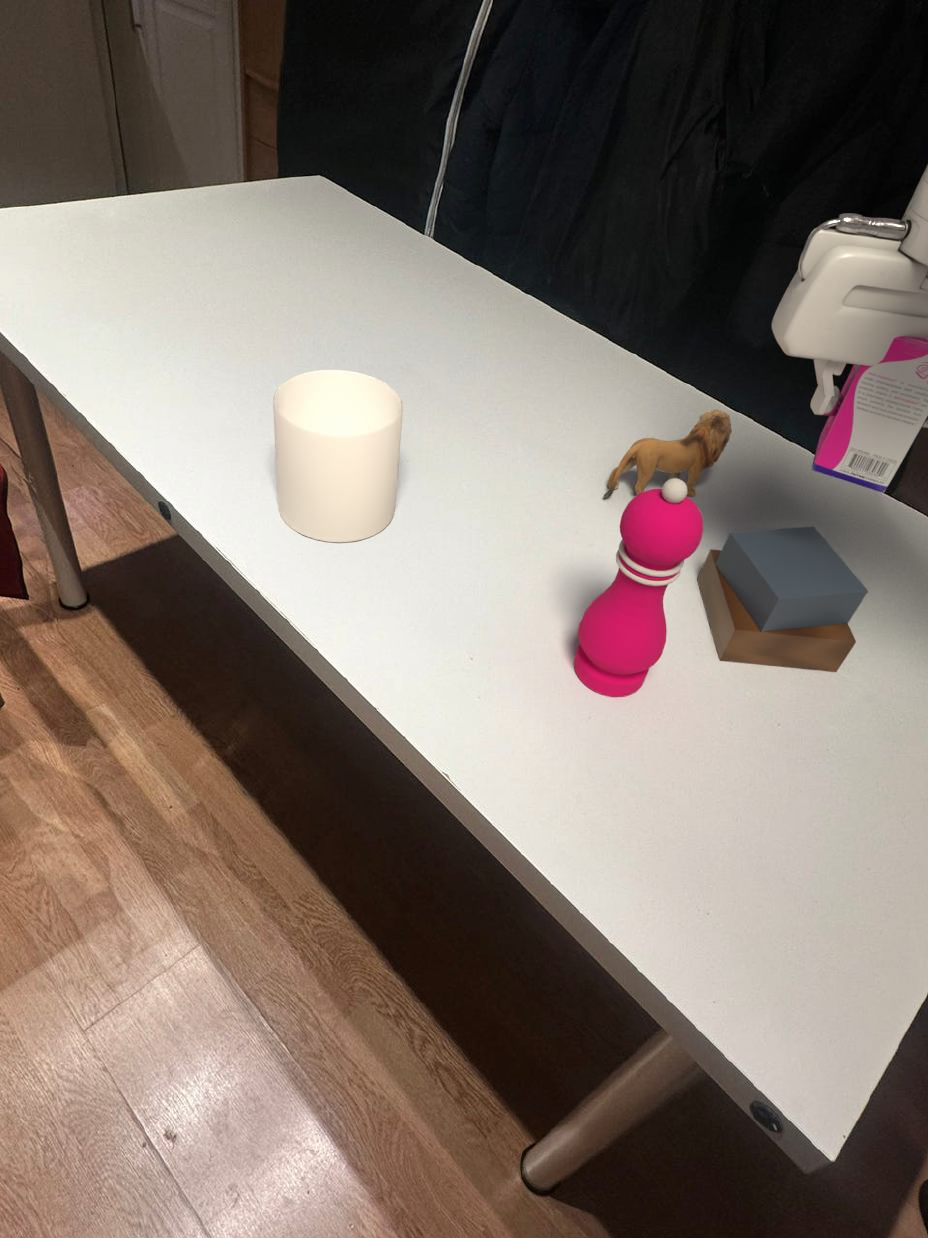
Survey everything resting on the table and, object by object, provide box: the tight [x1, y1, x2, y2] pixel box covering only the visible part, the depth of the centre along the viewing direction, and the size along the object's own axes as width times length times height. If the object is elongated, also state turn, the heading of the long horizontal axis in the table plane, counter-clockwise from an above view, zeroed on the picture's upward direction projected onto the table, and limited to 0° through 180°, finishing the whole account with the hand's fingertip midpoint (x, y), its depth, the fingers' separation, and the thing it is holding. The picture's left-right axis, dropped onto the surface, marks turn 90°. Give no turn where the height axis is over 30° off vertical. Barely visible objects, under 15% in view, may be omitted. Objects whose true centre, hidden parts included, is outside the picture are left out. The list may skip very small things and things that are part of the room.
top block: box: [716, 525, 869, 632], centre depth 74 cm, size 9×9×4 cm
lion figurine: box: [603, 408, 733, 499], centre depth 89 cm, size 15×5×9 cm, turn 117°
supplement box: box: [811, 336, 928, 494], centre depth 62 cm, size 6×6×12 cm
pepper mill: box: [573, 478, 704, 698], centre depth 65 cm, size 7×7×20 cm
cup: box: [272, 369, 404, 543], centre depth 79 cm, size 12×12×12 cm
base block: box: [696, 549, 857, 673], centre depth 77 cm, size 11×11×4 cm
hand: (874, 418), depth 63 cm, fingers closed on supplement box, 7 cm apart
